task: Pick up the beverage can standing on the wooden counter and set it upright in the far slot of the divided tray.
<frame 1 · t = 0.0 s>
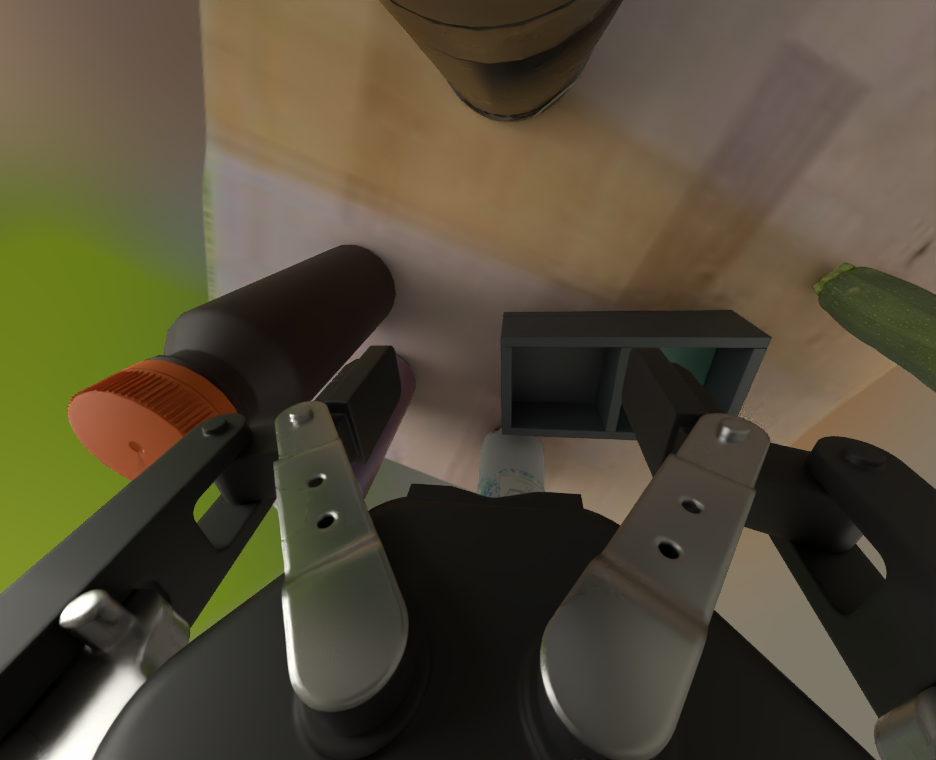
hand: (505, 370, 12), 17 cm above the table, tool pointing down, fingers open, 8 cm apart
vegetable: (817, 289, 25), on the table
beverage can: (389, 375, 34), on the table
vinegar: (359, 285, 29), on the table
divided tray: (604, 361, 30), on the table
bottle: (512, 440, 36), on the table
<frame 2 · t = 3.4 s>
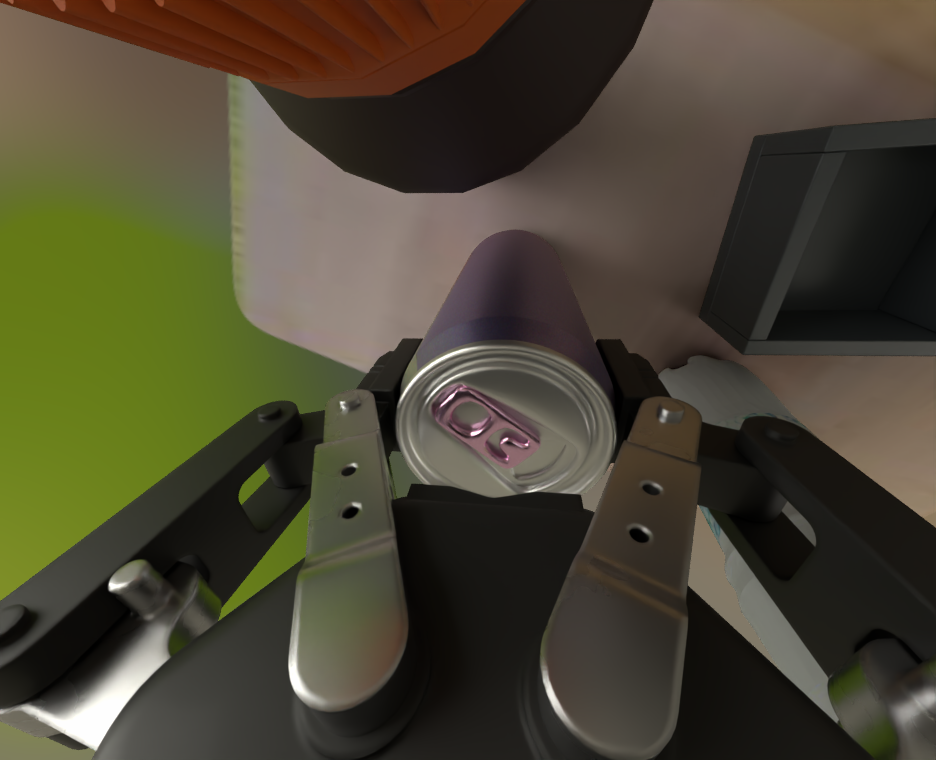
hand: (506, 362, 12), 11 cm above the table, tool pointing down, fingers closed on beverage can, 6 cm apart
beverage can: (512, 279, 22), on the table, touching gripper
vinegar: (493, 96, 17), on the table
divided tray: (910, 231, 17), on the table
bottle: (688, 386, 24), on the table
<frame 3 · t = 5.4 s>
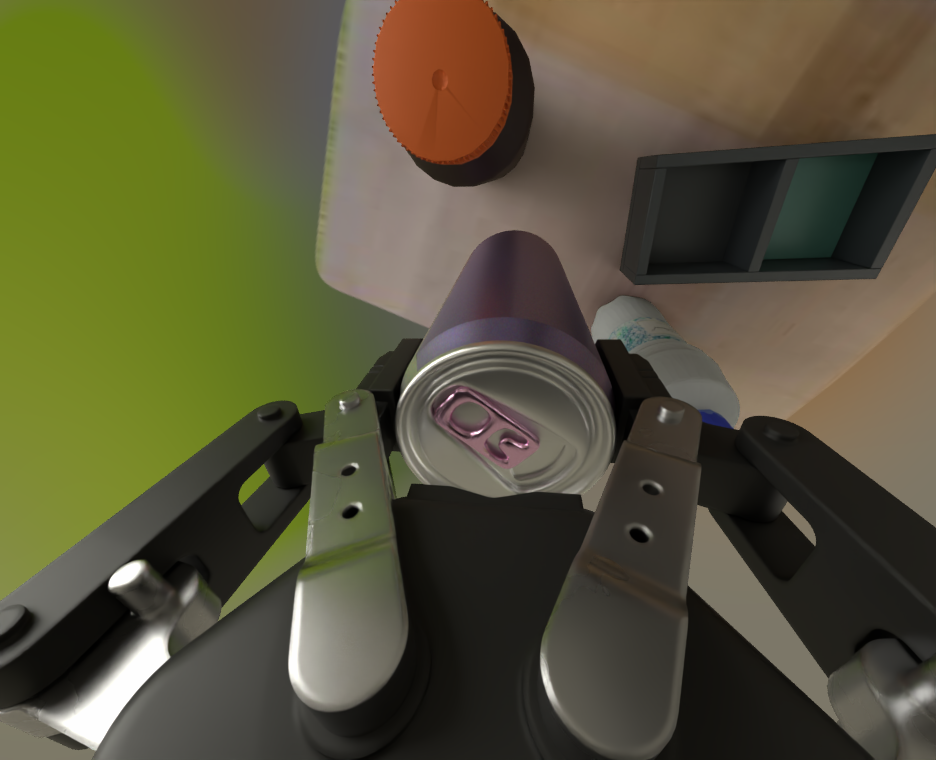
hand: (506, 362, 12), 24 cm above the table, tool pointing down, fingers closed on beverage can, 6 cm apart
beverage can: (512, 279, 22), point 13 cm above the table, touching gripper
vinegar: (487, 134, 29), on the table
divided tray: (735, 212, 29), on the table
bottle: (619, 320, 36), on the table
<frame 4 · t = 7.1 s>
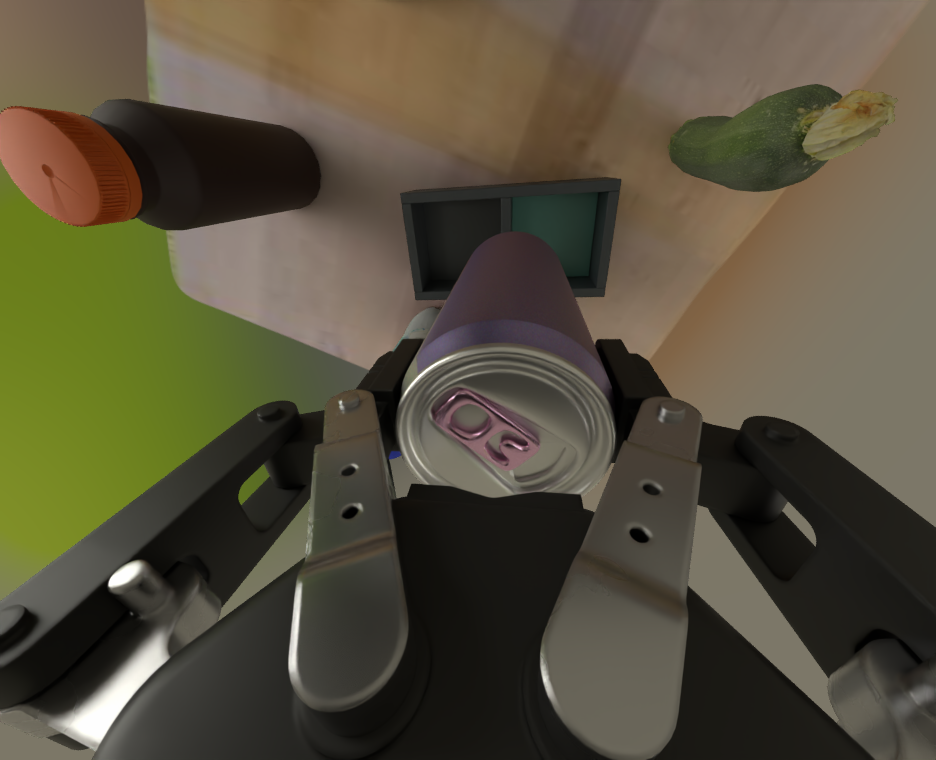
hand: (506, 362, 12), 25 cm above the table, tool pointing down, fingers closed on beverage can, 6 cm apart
vegetable: (676, 152, 29), on the table
beverage can: (512, 280, 22), point 15 cm above the table, touching gripper
vinegar: (289, 169, 33), on the table
divided tray: (507, 237, 34), on the table
bottle: (440, 328, 40), on the table
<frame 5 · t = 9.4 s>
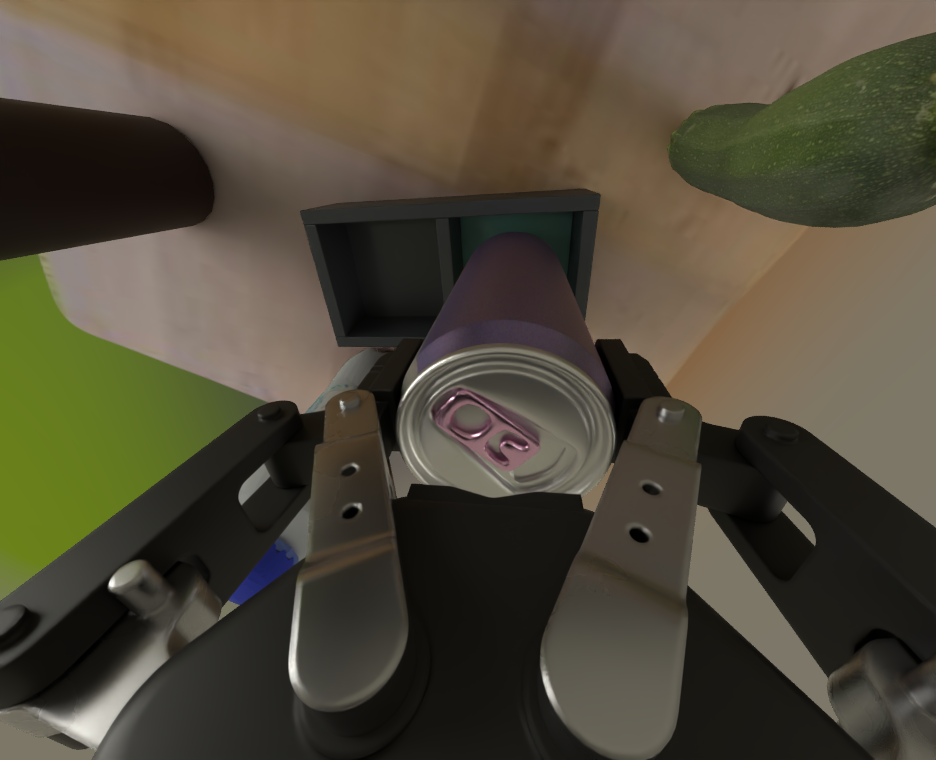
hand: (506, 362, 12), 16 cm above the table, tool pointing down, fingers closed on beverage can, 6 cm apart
vegetable: (678, 155, 21), on the table
beverage can: (512, 280, 22), point 5 cm above the table, touching gripper
vinegar: (174, 175, 26), on the table
divided tray: (459, 264, 26), on the table
bottle: (384, 371, 32), on the table
when the fingers open (12 cm above the table, at t = 10.9 s): beverage can stays where it is, resting on divided tray.
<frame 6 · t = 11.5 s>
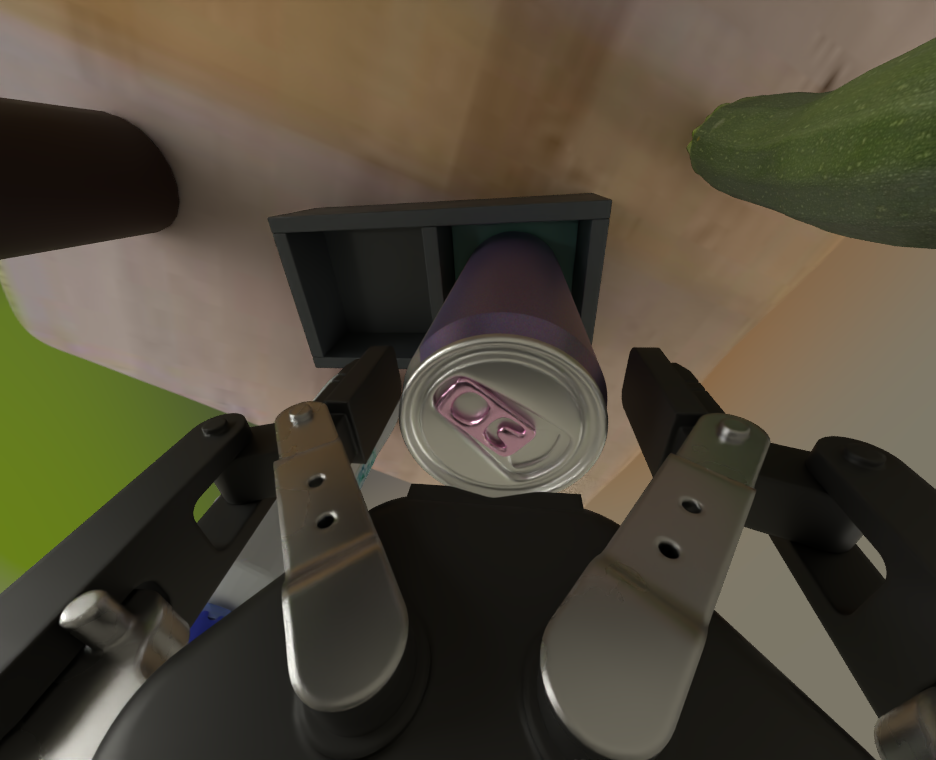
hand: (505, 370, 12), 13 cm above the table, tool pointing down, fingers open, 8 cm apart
vegetable: (698, 156, 19), on the table
beverage can: (511, 279, 22), point 1 cm above the table, touching divided tray
vinegar: (135, 176, 23), on the table
divided tray: (451, 275, 23), on the table
bottle: (371, 390, 30), on the table
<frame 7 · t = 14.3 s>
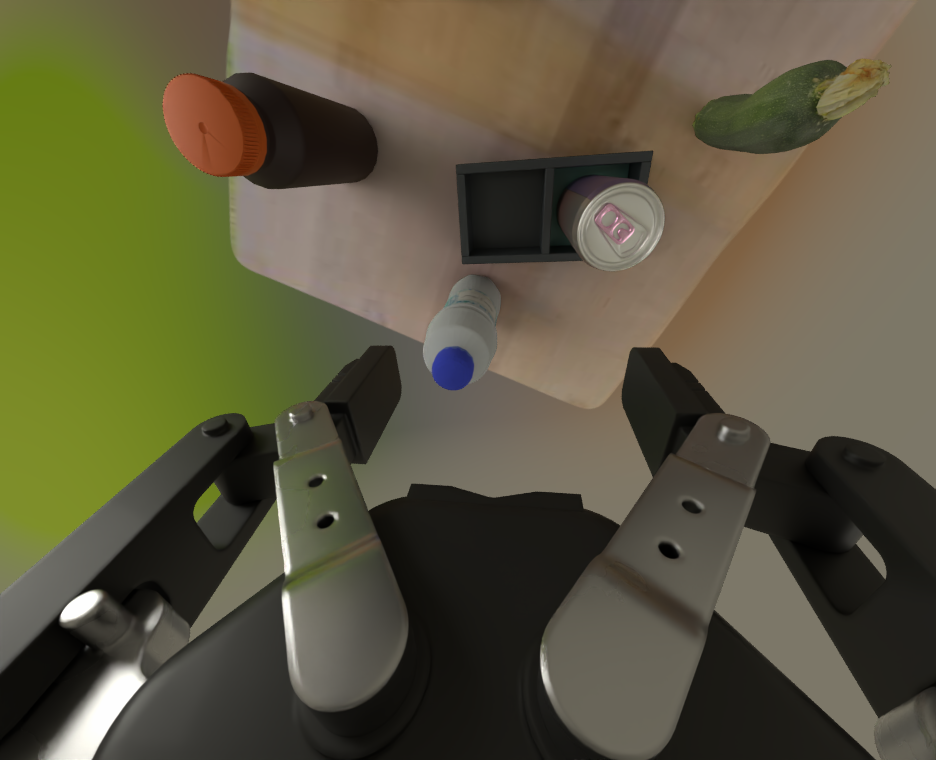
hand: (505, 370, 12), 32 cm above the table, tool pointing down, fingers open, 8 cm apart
vegetable: (698, 130, 33), on the table
beverage can: (584, 207, 36), point 1 cm above the table, touching divided tray
vinegar: (349, 146, 37), on the table
divided tray: (544, 208, 38), on the table
bottle: (477, 295, 44), on the table
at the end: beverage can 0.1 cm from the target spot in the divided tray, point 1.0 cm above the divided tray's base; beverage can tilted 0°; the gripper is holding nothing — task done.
